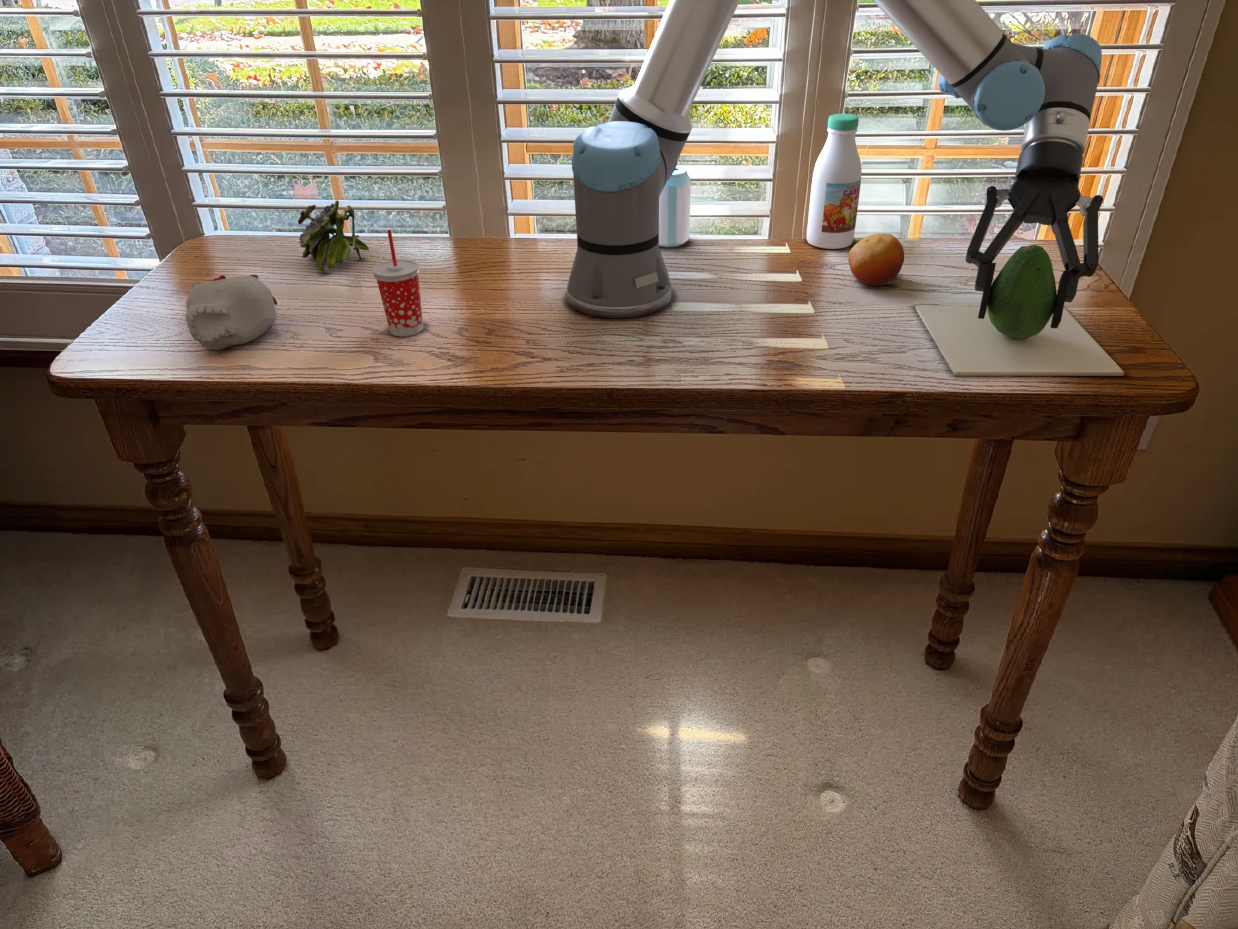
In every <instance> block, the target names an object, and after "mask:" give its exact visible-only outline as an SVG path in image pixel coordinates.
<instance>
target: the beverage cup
mask: <svg viewBox="0 0 1238 929" xmlns="http://www.w3.org/2000/svg"><path fill="white" fill-rule="evenodd" d="M386 231H387V237H388V241H389V248H390V254H391V259H389V260H385V261H382V262H379V263H377V264H376V265H374V266H373V267H372V269H371V271H372V274H373V278H374V279H376V284H377V286H378V291H379V295H380V297H381V303H382V306H383V310H384V314H385V317H386V322H387V326H388V330H389V332H390V334H391V335H393V336H397V337H410V336H414V335H416V334H419V333H421V332H422V331H423V329H424V321H423V320H424V318H423V311H422V310H423V309H422V300H421V290H420V278H419V274H420V264H419V263H418V262H417V261H415V260H413V259H408V258H401V259H400V258H397V257H396V251H395V244H394V239H393V234H392V230H391V229H387V230H386Z"/></svg>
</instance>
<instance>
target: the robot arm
mask: <svg viewBox="0 0 1238 929" xmlns="http://www.w3.org/2000/svg"><path fill="white" fill-rule="evenodd" d="M740 1H741V0H669V2H668V3H667V6H666V9H665V11H664V13H663V15H662V18H661V21H660V22H659V26H658V28H657V30H656V32H655V35H654V38H653V40H652V41H651V44H650V47H649V50H648V51H647V54H646V57H645V59H644V61H643V63H642V66H641V69H640V70H639V74H638V76H637V78H636V80H635V83H634V85H632V86H630V87H627V88H625V89H622V90H621V91H620V92H619V94H618V95H617V98H616V101H615V103H614V106H613V108H612V110H611V113H610V115H609V118H608V120H607V122H602V123H598V124H596V126H589V127H587V128H585V129H583V130H582V131H581V132H579V133H578V134H577V136H576V137H575V138H574V141H573V143H572V156H571V171H572V174H573V175H572V176H573V189H574V190H573V192H574V193H573V194H574V211H575V224H576V225H575V230H576V252H575V256H574V259H573V262H572V265H571V266H572V267H571V270H570V273H569V278H568V281H567V286H566V295H567V302H568V304H569V306H571V307H572V308H573V309H575V310H576V311H578V312H580V313H583V314H585V315H589V316H592V317H597V318H607V319H628V318H636V317H641V316H646V315H648V314H649V315H650V314H652V313H653V314H654V313H655V312H657V311H659V310H662V309H663V308H665V307H666V306H667V305H668V304H669V303H670V301H671V300H672V282H671V278H670V274H669V273H668V269H667V267H666V264H665V259H664V256H663V254H662V251H661V248H660V246H659V196H660V194H661V192H662V190H663V188H664V186H665V184H666V182H667V181H668V180H669V179H670V177H671V176H672V174H673V172H674V170H675V168H676V166H678V162H679V158H680V156H681V153H682V151H683V150H684V148H685V145H686V143H687V141H688V138H689V136H690V134H691V132H692V129H693V124H692V121H691V119H690V115H689V114H690V113H689V112H690V109H691V107H692V105H693V103H694V101H695V100H696V96H697V94H698V92H699V91H700V88H701V86H702V84H703V81H704V79H705V77H706V75H707V73H708V70H709V68H710V66H711V65H712V62H713V60H714V58H715V55H716V53H717V51H718V49H719V46H720V44H721V43H722V41H723V38H724V36H725V34H726V32H727V30H728V27H729V25H730V22H731V21H732V19H733V16H734V14H735V12H736V10H737V8H738V5H739V4H740ZM872 2H873V3H874V4H875V5H876V6H877V7H878V8H879V9H880V10H881V11H882V13H884V15H885V16H886V17H887V18H888V19H889V20H890V21H891V22H892V23H893V24H894V25H895V26H896V27H897V29H898V30H899V31H900V32H901V33H902V34H903V35H904V36H905V38H907V39H908V40H909V42H910V43H911V44H912V45H913V46H914V47H915V48H916V49H917V50H918V52H920V53H921V55H922V56H923V57H924V58H925V59H926V60H927V62H929V64H931V65H932V67H933V68H934V69H935V70H936V71H937V72H938V73H939V74H938V81H937V87H938V90H939V92H940V93H942V94H945V95H949V96H951V97H954V98H955V99H962V100H963V101H964V102H965V103H966V104H967V106H969V108H970V109H971V110H972V111H973V113H974V115H975V117H976V118H977V120H979V122H981V123H982V124H983V125H984V126H987V127H988V128H990V129H992V130H995V131H1000V132H1001V131H1004V132H1006V131H1013V130H1016V129H1018V128H1021V127H1023V126H1024V125H1025V126H1024V130H1023V135H1022V140H1021V141H1022V142H1021V145H1020V154H1019V156H1018V160H1017V164H1016V169H1015V170H1016V171H1015V174H1014V180H1013V182H1012V183H1011V184H1010V186H1009V187H1008V188H1000V189H998V188H997V187H996V186H994V185H990V186H988V187H987V188H986V192H985V197H984V207H983V211H982V213H981V216H980V218H979V221H978V223H977V225H976V228H975V230H974V232H973V235H972V238H971V239H970V243H969V245H968V248H967V250H966V253H965V254H966V255H965V260H964V261H965V262H966V263H967V264H972V265H975V266H976V267H977V273H976V279H975V283H974V290H975V292H981V293H982V296H981V301H980V304H979V305H980V310H979V314H978V318H979V319H984V317H985V314H986V310H987V305H988V300H989V295H990V290H991V286H992V283H993V281H994V275H995V271H996V266H997V263H996V262H994V261H995V259H996V258H997V257H998V255H999V254H1000V253H1001V252H1002V250H1003V248H1005V247H1006V245H1007V243H1008V242H1009V241H1010V240H1011V238H1012V237H1013V235H1014V234H1015V233H1016V231H1017V230H1019V228H1020V227H1021V226H1022V224H1040V225H1043V226H1050V229H1051V233H1052V234H1053V235H1054V237H1055V241H1056V245H1057V247H1058V251H1059V254H1060V259H1061V261H1062V265H1063V268H1064V270H1063V271H1062V274H1061V276H1060V278H1059V281H1058V286H1057V290H1056V292H1057V298H1056V303H1055V308H1054V312H1053V317H1052V322H1051V327H1050V328H1056V329H1057V328H1058V326H1059V324H1060V322H1061V318H1062V313H1063V308H1065V303H1072V302H1073V300H1074V299H1075V298H1076V296H1077V292H1078V291H1077V290H1078V287H1079V286H1078V285H1079V281H1080V279H1081V278H1083V277H1086V278H1090V277H1093V275H1094V274H1095V273H1096V271H1097V269H1098V267H1099V266H1100V265H1099V264H1100V263H1099V262H1100V259H1099V256H1100V255H1099V252H1100V251H1099V250H1100V248H1099V211H1100V209H1101V208H1102V207H1101V206H1102V204H1103V202H1104V197H1103V196H1102V195H1100V194H1095V195H1094V196H1093V197H1090V196H1087V195H1082V193H1081V191H1080V189H1079V183H1080V177H1081V172H1082V167H1083V162H1084V153H1085V152H1086V151H1085V150H1086V145H1087V140H1088V134H1089V130H1090V124H1091V119H1092V118H1091V117H1092V113H1093V109H1094V108H1093V107H1094V104H1095V101H1096V100H1095V99H1096V94H1097V91H1098V85H1099V84H1100V80H1101V70H1102V62H1103V61H1102V58H1103V56H1102V55H1103V52H1102V47H1101V45H1100V44H1099V42H1098V41H1097V40H1096V39H1094V38H1093V37H1092V36H1090V35H1088V34H1084V33H1078V32H1074V33H1073V34H1071V35H1068V34H1066V33H1064V34H1063V33H1062V34H1060V35H1057V36H1055V37H1053V38H1051V39H1049V40H1048V41H1047V42H1046V43H1044V45H1043V46H1042V47H1040V48H1039V47H1032V46H1027V45H1022V44H1019V43H1014V42H1013V41H1012V40H1011V39H1010V38H1009V37H1008V36H1007V35H1006V34H1005V33H1004V31H1003V30H1002V28H1001V27H1000V26H999V25H998V24H997V23H996V22H995V21H994V20H993V19H992V17H991V16H990V15H989V14H988V12H986V10H985V9H984V8H983V7H982V6H981V5H980V4H979V3H978V1H976V0H872ZM1005 200H1006V201H1008V203H1009V204H1010V206H1011V208H1012V209H1013V211H1012V213H1011V214H1010V217H1009V218H1008V219H1007V221H1006V222H1005V223H1004V225H1003V226H1002V227H1001V229H1000V230H999V231H998V233H997V234H996V236H995V237H994V238H993V239H992V241H991V242H990V244H989V245H988V246H987V247H986V248H985V250H984V252H983V251H980V249H981V247H982V246H983V242H984V240H985V237H986V235H987V232H988V230H989V228H990V225H991V222H992V221H993V218H994V216H995V211H996V209H998V208H1000V207H1001V206H1002V205H1003V202H1004V201H1005ZM1076 206H1077V207H1078V208H1079V213H1080V215H1081V216H1082V217H1084V218H1083V222H1082V231H1083V232H1082V244H1083V245H1082V248H1083V249H1082V257H1083V258H1082V259H1083V262H1081V260H1080V256H1079V252H1078V250H1077V247H1076V244H1075V240H1074V237H1073V234H1072V229H1071V226H1070V224H1069V216H1068V213H1069V212H1070V211H1071V210H1073V209H1074V208H1075V207H1076Z"/></svg>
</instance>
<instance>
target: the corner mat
mask: <svg viewBox="0 0 1238 929" xmlns="http://www.w3.org/2000/svg"><path fill="white" fill-rule="evenodd" d="M980 305H981V304H917V305H915V310H916V312H917V314H918V316H919V317H920V319H921V320H922V322H923V324H924V326H925V328H926V329H927V331H928V333H929V335H930V336H931V338H932V339H933V341H934V343H935V345H936V346H937V348H938V350H939V352H940V353H941V355H942V357H943V358H944V360H945V362H946V364H947V365H948V367H949V369H950V370H951V372H952V374H953V375H954V376H957V377H959V376H960V377H961V376H964V377H965V376H967V377H968V376H970V377H971V376H975V377H976V376H977V377H978V376H980V377H983V376H985V377H986V376H987V377H991V376H993V377H994V376H996V377H997V376H999V377H1000V376H1002V377H1003V376H1004V377H1005V376H1006V377H1007V376H1009V377H1010V376H1011V377H1012V376H1014V377H1015V376H1017V377H1018V376H1019V377H1021V376H1024V377H1025V376H1026V377H1027V376H1028V377H1029V376H1031V377H1034V376H1038V377H1043V376H1046V377H1047V376H1048V377H1050V376H1051V377H1055V376H1057V377H1058V376H1059V377H1062V376H1063V377H1071V376H1072V377H1088V376H1089V377H1094V376H1096V377H1100V376H1101V377H1108V376H1109V377H1122V376H1124V375H1125V371H1124V370H1123V369H1122V368H1121V367H1120V366H1119V365H1118V364H1117V362H1115V361H1114V359H1112V357H1111V356H1110V355H1109V354H1108V353H1107V352H1106V351H1105V350H1104V349H1103V348H1102V346H1101V345H1100V344H1099V343H1098V342H1097V341H1096V340H1095V339H1094V338H1093V337H1092V336H1091V335H1090V334H1089V332H1087V330H1086V329H1084V327H1083V326H1082V325H1081V323H1079V321H1077V320H1076V319H1075V318H1074V316H1073V315H1072V314H1071V313H1070V312H1069V311H1068V310H1067V309H1066V308H1065V307H1064V308H1063V313H1062V318H1061V322H1060V324H1059V326H1058V328H1057V329H1056V328H1050V327H1051V322H1052V317H1053V315H1052V316H1051V318H1050V320H1049V321H1048V323H1047V325H1046V326H1045V327H1044V328H1043V330H1042V331H1040V332H1039V333H1038V334H1036V335H1034V336H1031V337H1029V338H1027V339H1016V338H1011V337H1009V336H1007V335H1004V334H1002V333H1001V332H999V331H998V330H997V329H996V328H995V327H994V325H993V324H992V323H991V321H990V318H989V315H988V310H986V314H985V317H984V319H979V318H978V314H979V310H980Z"/></svg>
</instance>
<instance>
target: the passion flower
mask: <svg viewBox="0 0 1238 929" xmlns="http://www.w3.org/2000/svg"><path fill="white" fill-rule="evenodd" d="M316 207H317V206H316V204H312V205H308V206H307V207H306V209H305V210H301V211H300V213H299V214H300V216H299V217H298V219H297V222H298V223H297V224H298V225H302V224H303V223H304V222H305V220H306V219H308V220H310V222H309V224H307V225H305V230H303V231H302V233H300V234H299V242H297V245H298V244H299V245H298V246H300V247H301V248H304V250H303V251H302V256H301V258H302V259H306V258H308V257H309V256H310V257H311V258H312V259H314V260H316V266H317V269H318V271H319V272H322V274H323V275H324V274H325V272H326V271H325V267H326V266H327V269H328V270H330V271H331V270H333V269H334V268H335V267H336V266H337V265H338V264H339V265H342V264H344V262H346V260H347V259H348V258H349V256H350V253H351V247H352V249H353V251H355V252H356V254H357V256H358V258H359V260H360V261H362V257H361V253H360V250H363V251H370V248H369V247H368V245H367V244H366V243H365V242H363V241H362V240H361V239H359V237H360V235H358V234H355V233H356V227H355V218H356V217H355V216H356V215H355V209H353V208H352V206H351V205H347V206H346V207H345V209H343V212H344V213H339V208H340V201H339V200H338V199H337V200H335V201H334V203H332V202H331V204H330V205H326V206H325V207H324V209H323V210H321V212H320V213H319V214H317V215H315V216H314V217H312V216H311V214H312V213H313V211H315V209H316ZM350 218H351V229H352V230H351V232H352V233H351V236H350V235H345V234H344V227H345V221H349V220H350ZM335 227H336V228H335ZM330 235H331V236H330ZM326 263H327V264H326Z"/></svg>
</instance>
